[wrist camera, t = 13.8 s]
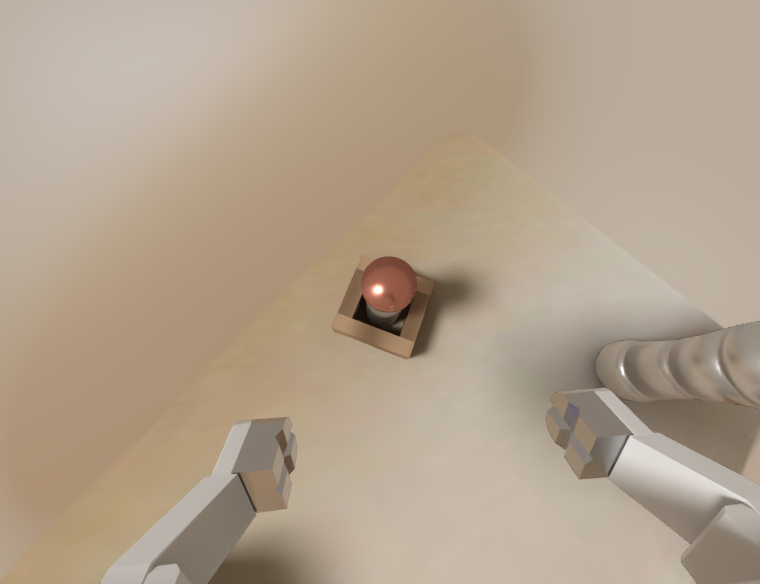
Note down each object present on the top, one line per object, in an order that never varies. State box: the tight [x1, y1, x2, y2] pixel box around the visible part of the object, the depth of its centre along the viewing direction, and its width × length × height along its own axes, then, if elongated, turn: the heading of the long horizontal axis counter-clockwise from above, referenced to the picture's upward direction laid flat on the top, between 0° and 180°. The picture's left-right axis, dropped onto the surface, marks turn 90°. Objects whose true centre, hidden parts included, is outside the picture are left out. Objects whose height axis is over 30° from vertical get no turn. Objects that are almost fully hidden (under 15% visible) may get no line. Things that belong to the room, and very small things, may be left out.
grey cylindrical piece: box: [361, 257, 417, 326], centre depth 31 cm, size 5×5×11 cm
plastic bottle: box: [595, 321, 760, 409], centre depth 26 cm, size 6×7×20 cm
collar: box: [331, 256, 435, 359], centre depth 35 cm, size 9×9×3 cm
